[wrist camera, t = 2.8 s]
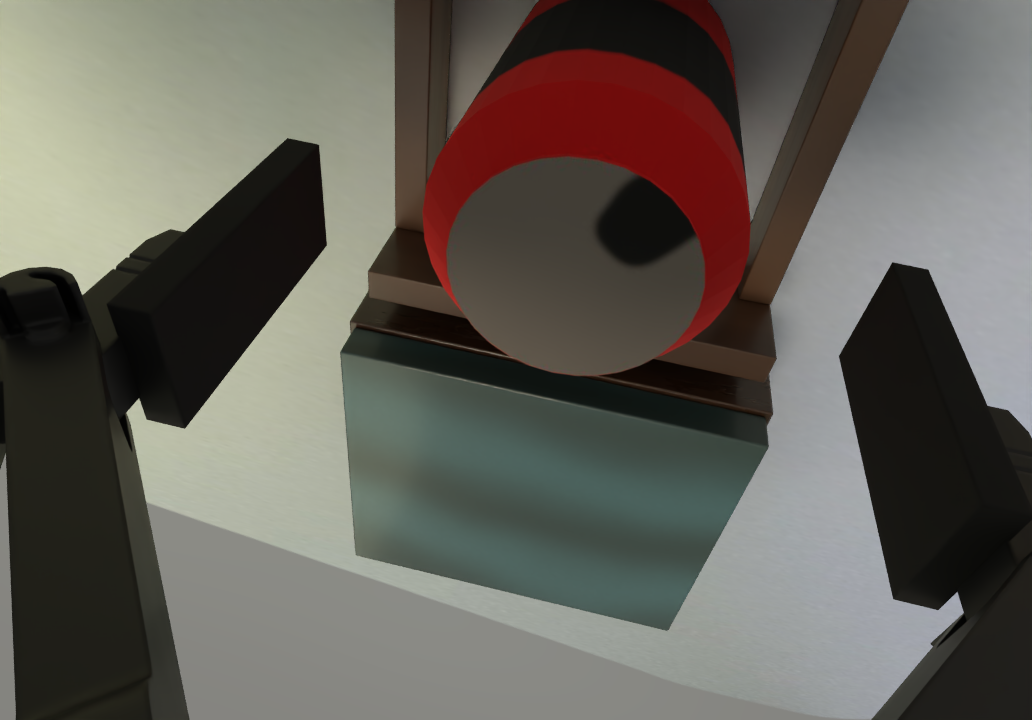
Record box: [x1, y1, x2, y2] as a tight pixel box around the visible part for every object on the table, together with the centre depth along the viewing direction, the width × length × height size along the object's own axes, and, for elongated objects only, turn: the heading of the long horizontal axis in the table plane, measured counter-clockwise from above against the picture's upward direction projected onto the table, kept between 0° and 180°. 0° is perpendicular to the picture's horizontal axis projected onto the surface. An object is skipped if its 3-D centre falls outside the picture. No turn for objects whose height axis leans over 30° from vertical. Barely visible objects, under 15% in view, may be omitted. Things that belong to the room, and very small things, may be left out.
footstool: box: [340, 291, 773, 631], centre depth 32 cm, size 14×16×7 cm
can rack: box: [368, 0, 909, 383], centre depth 22 cm, size 14×14×6 cm
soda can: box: [423, 0, 751, 376], centre depth 20 cm, size 8×8×12 cm
